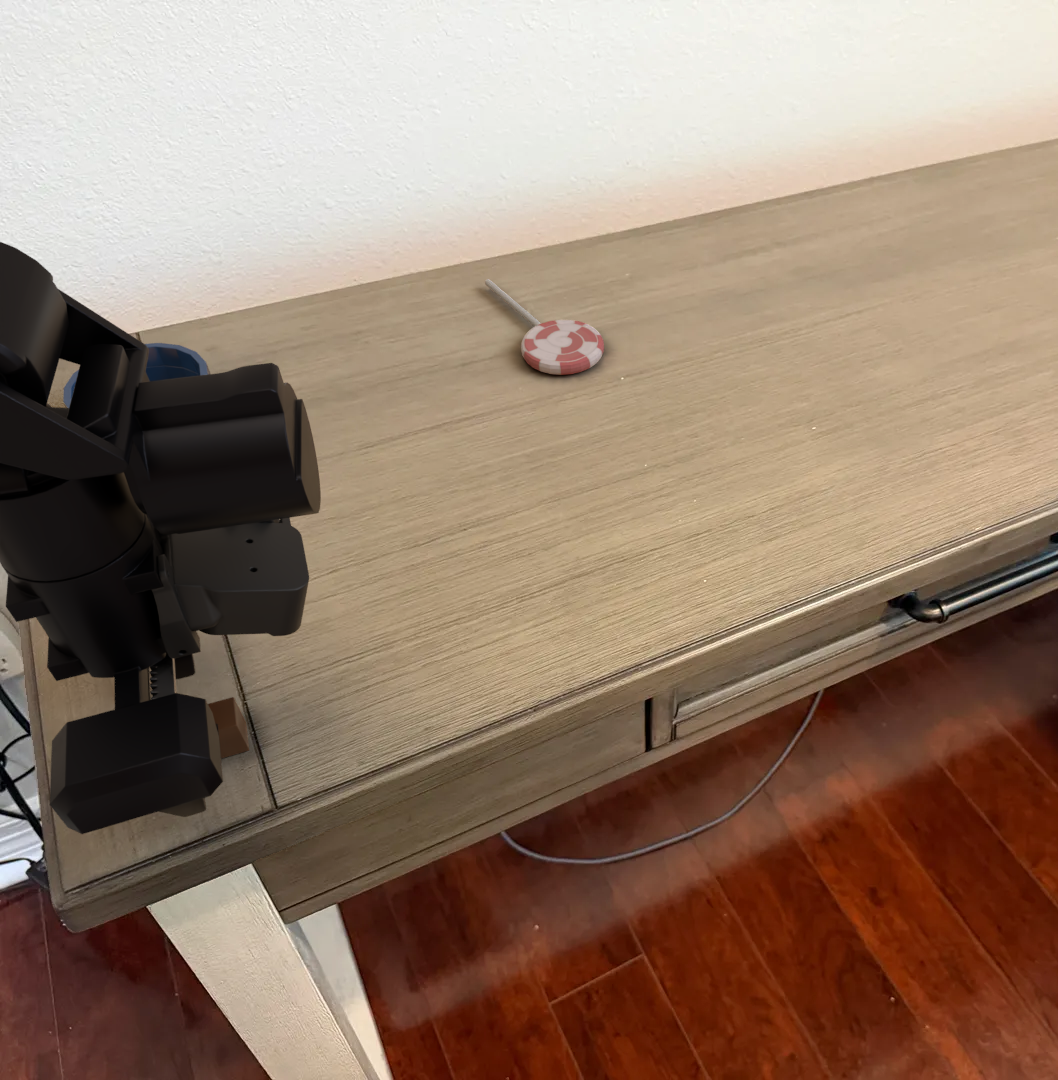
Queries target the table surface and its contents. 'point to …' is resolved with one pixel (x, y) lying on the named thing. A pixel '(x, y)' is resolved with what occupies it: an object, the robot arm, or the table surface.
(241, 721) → the tall brown square pillar
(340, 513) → the table surface
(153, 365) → the bowl
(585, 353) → the lollipop
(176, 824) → the table surface
